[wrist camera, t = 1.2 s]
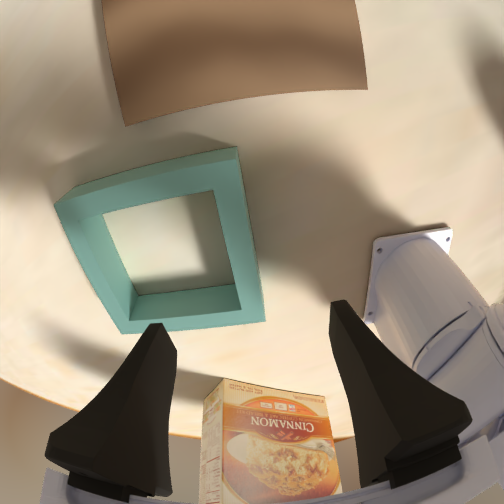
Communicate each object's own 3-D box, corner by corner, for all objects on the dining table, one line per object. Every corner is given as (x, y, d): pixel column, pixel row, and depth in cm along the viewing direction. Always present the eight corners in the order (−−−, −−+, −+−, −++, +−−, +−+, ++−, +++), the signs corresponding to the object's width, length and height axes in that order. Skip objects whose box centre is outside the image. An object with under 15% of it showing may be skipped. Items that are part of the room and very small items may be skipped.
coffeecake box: (326, 395, 34) (350, 527, 18) (297, 416, 38) (311, 532, 21) (223, 375, 30) (222, 543, 14) (202, 399, 33) (196, 538, 17)
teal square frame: (263, 294, 23) (265, 321, 21) (130, 309, 24) (121, 334, 21) (236, 146, 17) (235, 158, 14) (74, 187, 17) (53, 204, 15)
